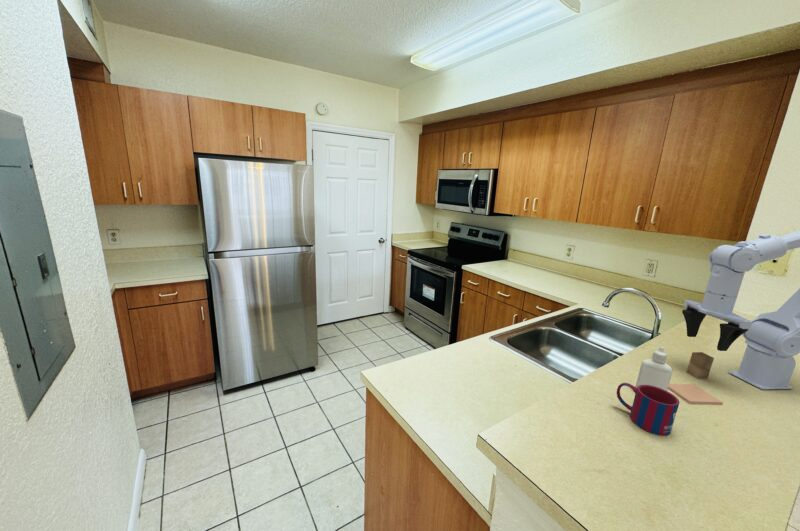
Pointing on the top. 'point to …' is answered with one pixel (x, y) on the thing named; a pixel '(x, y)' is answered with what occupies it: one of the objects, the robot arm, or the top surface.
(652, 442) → the top surface
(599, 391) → the top surface
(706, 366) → the block
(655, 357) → the eye dropper bottle
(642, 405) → the mug
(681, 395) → the tile
